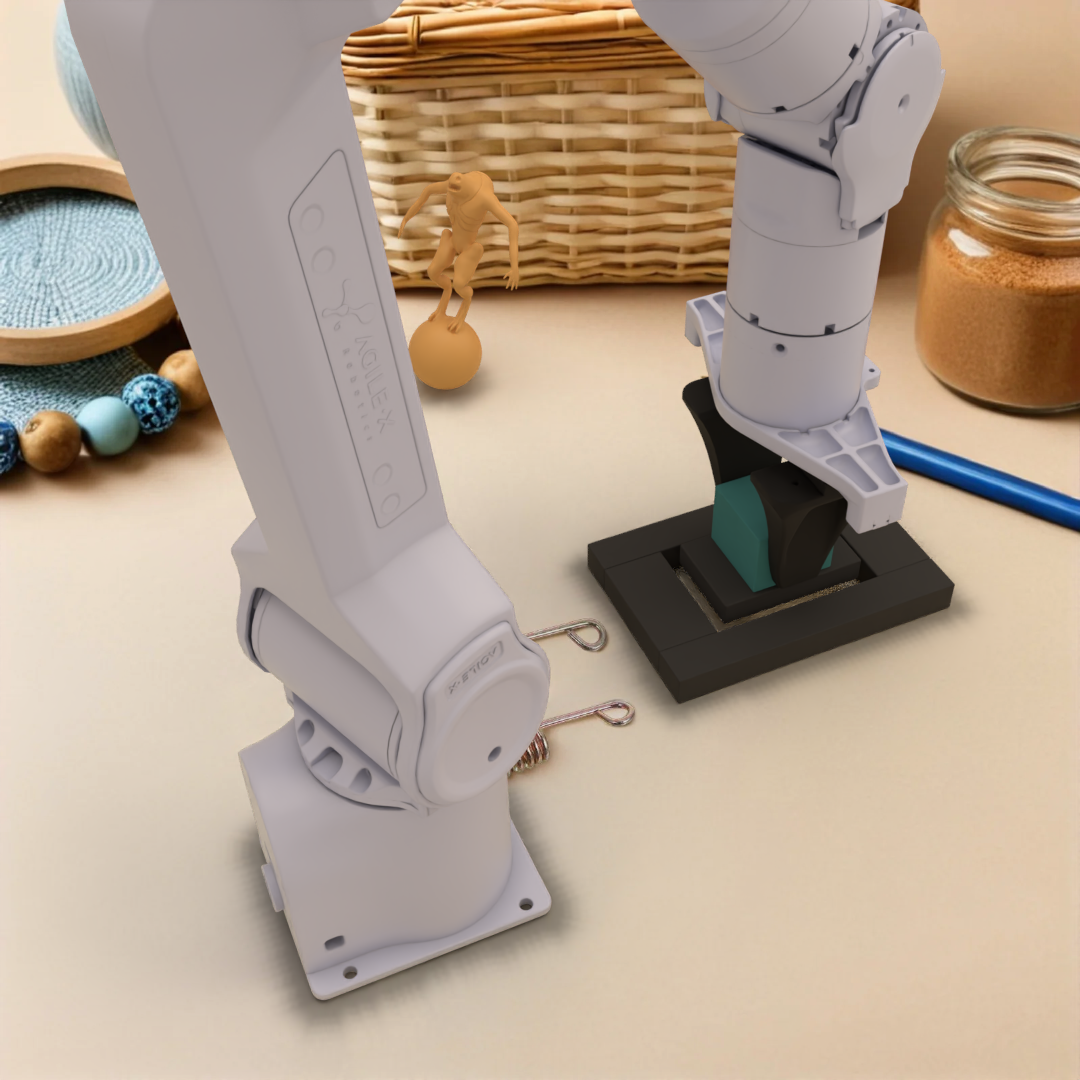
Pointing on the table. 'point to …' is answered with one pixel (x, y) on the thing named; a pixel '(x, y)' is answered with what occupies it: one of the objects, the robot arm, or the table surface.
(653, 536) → the dark rectangular frame
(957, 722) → the table surface
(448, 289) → the figurine
